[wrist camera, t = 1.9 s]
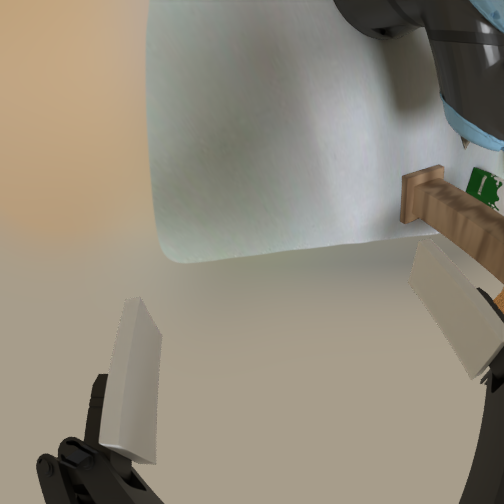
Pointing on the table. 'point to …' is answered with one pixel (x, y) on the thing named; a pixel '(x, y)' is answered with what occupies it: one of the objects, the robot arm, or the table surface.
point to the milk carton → (487, 189)
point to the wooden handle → (500, 301)
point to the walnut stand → (455, 216)
